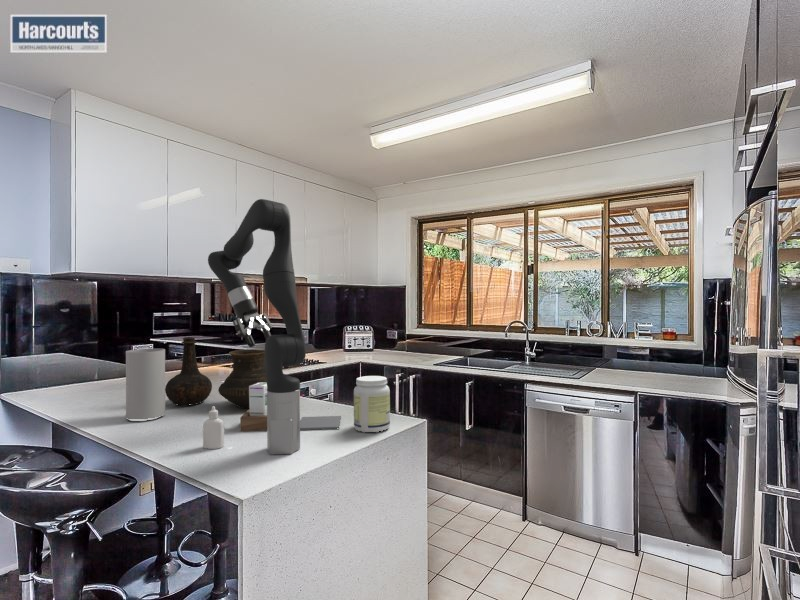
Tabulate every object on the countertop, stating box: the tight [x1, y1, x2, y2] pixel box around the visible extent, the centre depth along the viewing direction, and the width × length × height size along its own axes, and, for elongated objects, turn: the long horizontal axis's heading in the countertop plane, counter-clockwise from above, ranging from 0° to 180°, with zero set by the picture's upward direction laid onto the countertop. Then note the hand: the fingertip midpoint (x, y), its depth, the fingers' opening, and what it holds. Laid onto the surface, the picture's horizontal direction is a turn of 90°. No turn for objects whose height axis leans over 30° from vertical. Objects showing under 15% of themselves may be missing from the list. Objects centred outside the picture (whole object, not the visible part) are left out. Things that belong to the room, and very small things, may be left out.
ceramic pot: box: [218, 348, 266, 409], centre depth 178 cm, size 24×24×22 cm
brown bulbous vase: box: [165, 336, 213, 406], centre depth 182 cm, size 18×18×28 cm
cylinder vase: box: [125, 348, 166, 419], centre depth 160 cm, size 12×12×25 cm
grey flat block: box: [300, 415, 342, 431], centre depth 151 cm, size 14×14×1 cm
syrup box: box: [249, 382, 267, 416], centre depth 149 cm, size 6×6×14 cm
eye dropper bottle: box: [202, 406, 225, 450], centre depth 127 cm, size 4×6×12 cm
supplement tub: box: [353, 375, 391, 433], centre depth 145 cm, size 12×12×17 cm
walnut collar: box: [239, 408, 267, 432], centre depth 149 cm, size 11×11×4 cm
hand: (261, 343), depth 150 cm, fingers open, 8 cm apart
